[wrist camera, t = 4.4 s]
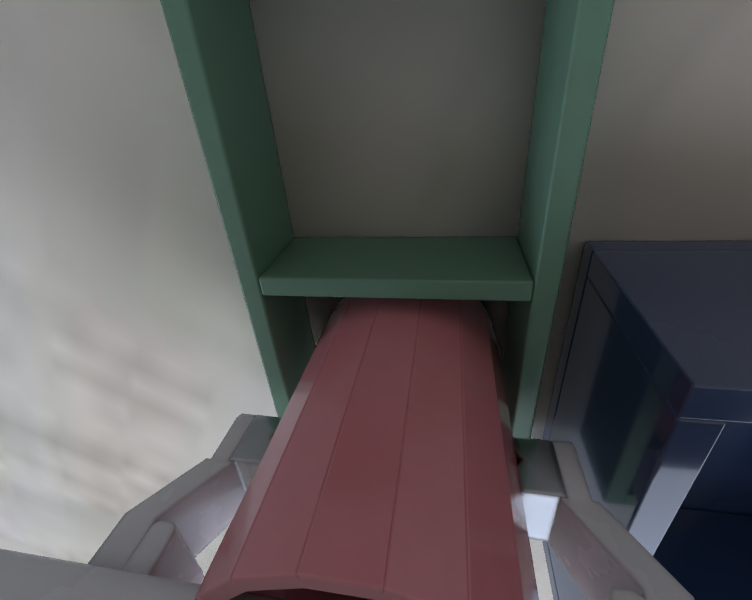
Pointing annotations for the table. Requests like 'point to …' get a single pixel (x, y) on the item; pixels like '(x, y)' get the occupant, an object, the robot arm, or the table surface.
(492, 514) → the cup
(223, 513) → the robot arm
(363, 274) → the rack
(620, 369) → the navy blue open box
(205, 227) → the table surface
